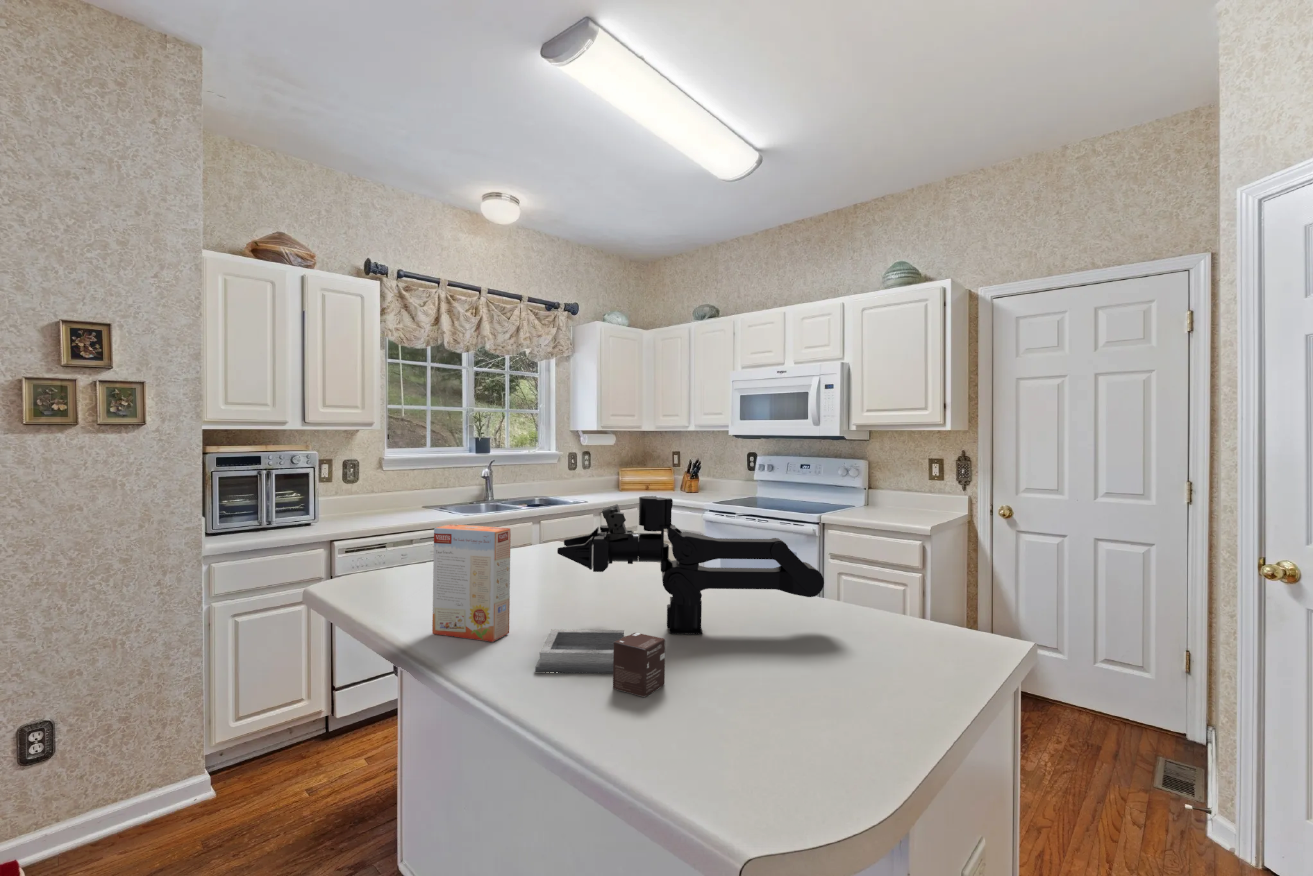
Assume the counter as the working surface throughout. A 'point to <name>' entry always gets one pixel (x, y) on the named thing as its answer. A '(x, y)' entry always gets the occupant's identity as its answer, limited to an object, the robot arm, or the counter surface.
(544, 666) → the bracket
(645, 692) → the box
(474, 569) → the cracker box
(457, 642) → the counter surface
